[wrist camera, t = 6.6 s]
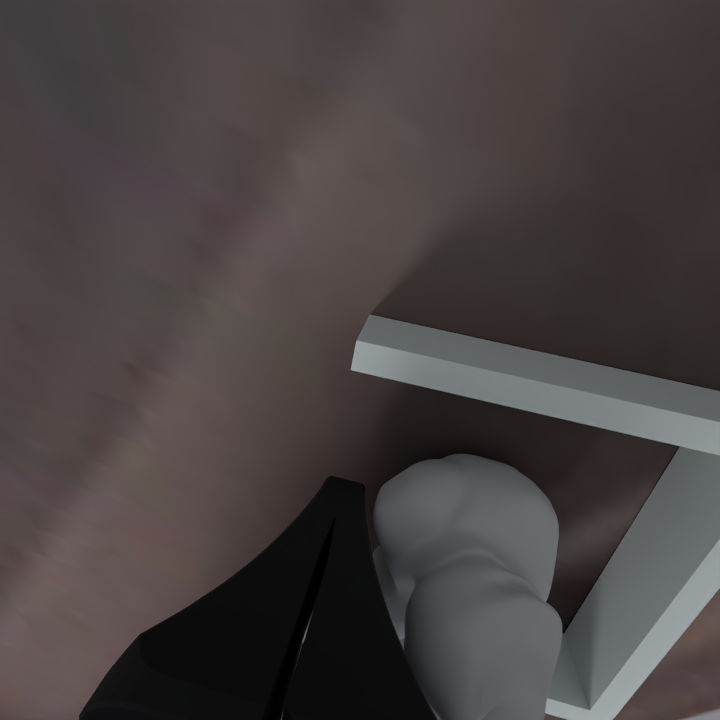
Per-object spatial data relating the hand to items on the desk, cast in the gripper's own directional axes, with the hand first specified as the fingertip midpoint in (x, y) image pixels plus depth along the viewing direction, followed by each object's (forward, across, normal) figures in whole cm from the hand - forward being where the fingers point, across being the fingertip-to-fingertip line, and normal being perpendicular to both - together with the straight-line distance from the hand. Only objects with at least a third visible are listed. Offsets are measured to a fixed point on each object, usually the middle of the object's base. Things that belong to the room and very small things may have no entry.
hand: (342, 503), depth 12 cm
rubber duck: (+2, -4, 0) cm, 4 cm away
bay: (+2, -5, 0) cm, 5 cm away
